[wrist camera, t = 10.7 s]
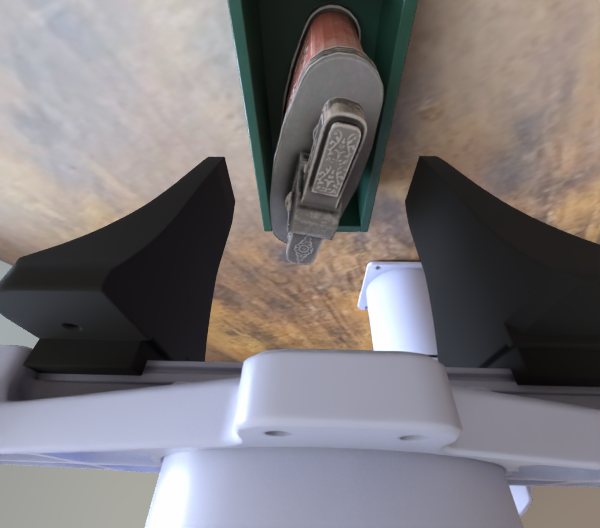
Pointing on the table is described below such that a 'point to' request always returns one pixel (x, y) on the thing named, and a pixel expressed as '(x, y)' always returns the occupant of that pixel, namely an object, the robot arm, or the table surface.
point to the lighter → (323, 131)
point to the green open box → (275, 69)
